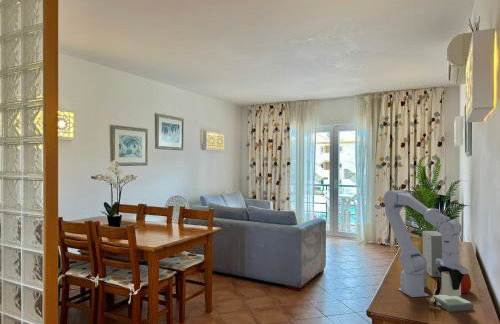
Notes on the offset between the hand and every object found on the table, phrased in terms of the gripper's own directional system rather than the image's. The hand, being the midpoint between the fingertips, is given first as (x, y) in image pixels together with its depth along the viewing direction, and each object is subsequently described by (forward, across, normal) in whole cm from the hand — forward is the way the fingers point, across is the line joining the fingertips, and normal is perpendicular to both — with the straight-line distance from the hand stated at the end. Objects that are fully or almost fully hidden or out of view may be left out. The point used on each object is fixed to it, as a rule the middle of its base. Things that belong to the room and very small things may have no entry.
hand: (451, 287), depth 134 cm
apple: (+7, -14, +14) cm, 21 cm away
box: (+7, -22, +2) cm, 23 cm away
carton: (+2, 0, 0) cm, 2 cm away
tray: (+7, 0, 0) cm, 7 cm away
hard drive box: (+7, -38, +22) cm, 44 cm away
